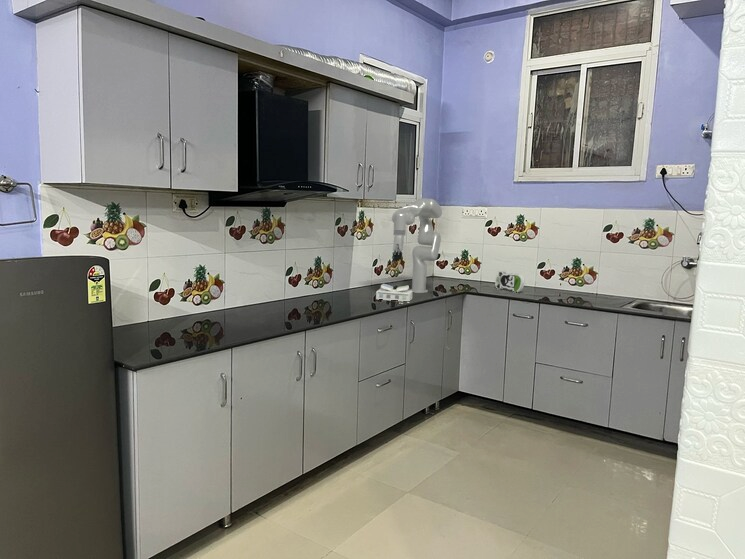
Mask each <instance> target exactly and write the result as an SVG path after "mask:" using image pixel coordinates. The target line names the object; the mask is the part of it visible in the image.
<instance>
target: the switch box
mask: <svg viewBox="0 0 745 559" xmlns="http://www.w3.org/2000/svg"><path fill="white" fill-rule="evenodd" d="M375 292H376V293H375V294H376V295H375V300H379V299H383V300H382V301H391V300H398V301H397V302H403V301H410V300H413V293H414V292H413V291H409V290H403V291H397V289H394V288H393V290H392V291H390V290H386V289H383V288H381V287H380V288H379V289H378V290H377V291H375ZM410 302H411V301H410Z"/></svg>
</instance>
